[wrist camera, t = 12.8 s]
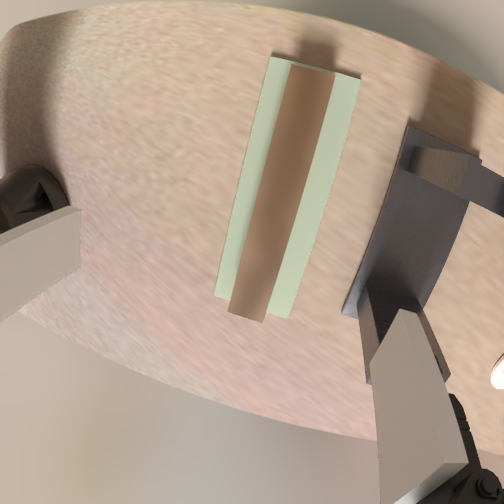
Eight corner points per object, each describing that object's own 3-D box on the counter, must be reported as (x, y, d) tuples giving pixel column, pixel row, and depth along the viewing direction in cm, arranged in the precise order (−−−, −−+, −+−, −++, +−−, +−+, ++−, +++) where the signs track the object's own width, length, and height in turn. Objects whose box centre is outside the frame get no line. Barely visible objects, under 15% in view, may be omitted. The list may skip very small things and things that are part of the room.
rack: (341, 310, 31) (345, 394, 20) (406, 126, 24) (462, 122, 13) (408, 329, 31) (433, 411, 20) (478, 159, 23) (554, 180, 12)
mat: (215, 292, 34) (213, 295, 33) (271, 57, 24) (270, 56, 24) (288, 316, 33) (287, 319, 32) (360, 81, 23) (361, 80, 23)
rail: (236, 294, 32) (227, 311, 29) (294, 72, 24) (291, 63, 21) (268, 304, 32) (262, 323, 29) (333, 82, 24) (335, 75, 20)
